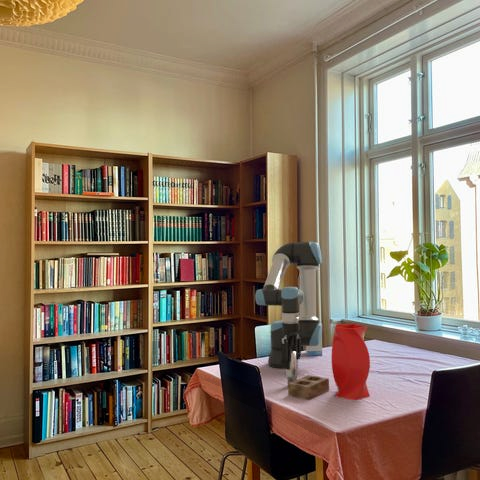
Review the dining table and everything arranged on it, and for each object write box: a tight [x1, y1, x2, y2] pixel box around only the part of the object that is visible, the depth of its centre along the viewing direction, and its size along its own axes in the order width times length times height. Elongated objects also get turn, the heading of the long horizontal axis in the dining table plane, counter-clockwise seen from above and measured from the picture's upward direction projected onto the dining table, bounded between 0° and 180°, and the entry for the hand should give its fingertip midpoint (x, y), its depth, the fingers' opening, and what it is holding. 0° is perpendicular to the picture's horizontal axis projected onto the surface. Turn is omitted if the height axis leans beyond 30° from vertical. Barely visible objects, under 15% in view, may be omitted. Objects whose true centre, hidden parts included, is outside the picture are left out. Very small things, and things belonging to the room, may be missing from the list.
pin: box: [287, 351, 298, 384], centre depth 203 cm, size 4×4×14 cm
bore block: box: [287, 374, 330, 401], centre depth 193 cm, size 10×16×5 cm, turn 140°
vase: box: [331, 323, 371, 401], centre depth 190 cm, size 15×14×28 cm
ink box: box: [305, 335, 323, 356], centre depth 267 cm, size 9×8×13 cm
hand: (292, 375), depth 203 cm, fingers closed on pin, 4 cm apart
